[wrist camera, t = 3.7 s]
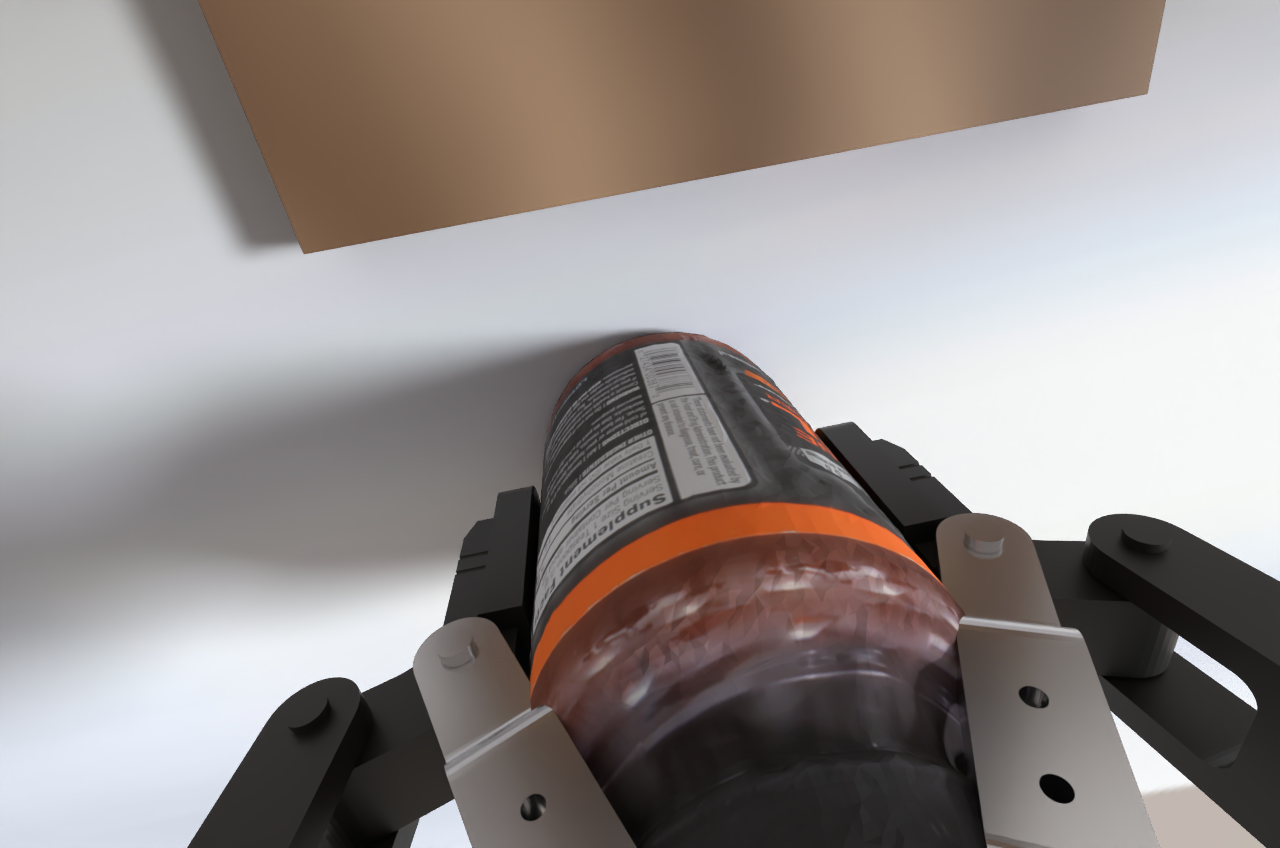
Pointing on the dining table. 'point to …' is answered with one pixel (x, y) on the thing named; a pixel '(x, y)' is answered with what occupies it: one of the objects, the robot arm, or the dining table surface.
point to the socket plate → (630, 92)
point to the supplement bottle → (738, 618)
